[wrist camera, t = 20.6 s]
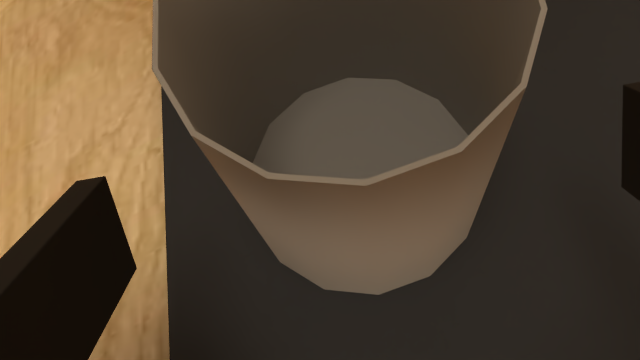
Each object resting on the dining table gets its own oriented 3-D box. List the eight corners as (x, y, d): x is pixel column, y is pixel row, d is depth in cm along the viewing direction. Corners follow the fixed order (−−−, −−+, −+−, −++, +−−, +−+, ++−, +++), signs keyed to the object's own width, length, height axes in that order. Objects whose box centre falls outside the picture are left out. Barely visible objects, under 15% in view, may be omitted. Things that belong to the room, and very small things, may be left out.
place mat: (177, 457, 19) (172, 458, 19) (164, 54, 26) (159, 47, 25) (804, 366, 18) (815, 364, 18) (629, -31, 24) (633, -40, 24)
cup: (363, 346, 19) (336, 277, 10) (207, 188, 22) (76, 24, 13) (527, 173, 21) (631, -19, 12) (361, 47, 24) (342, -187, 15)
